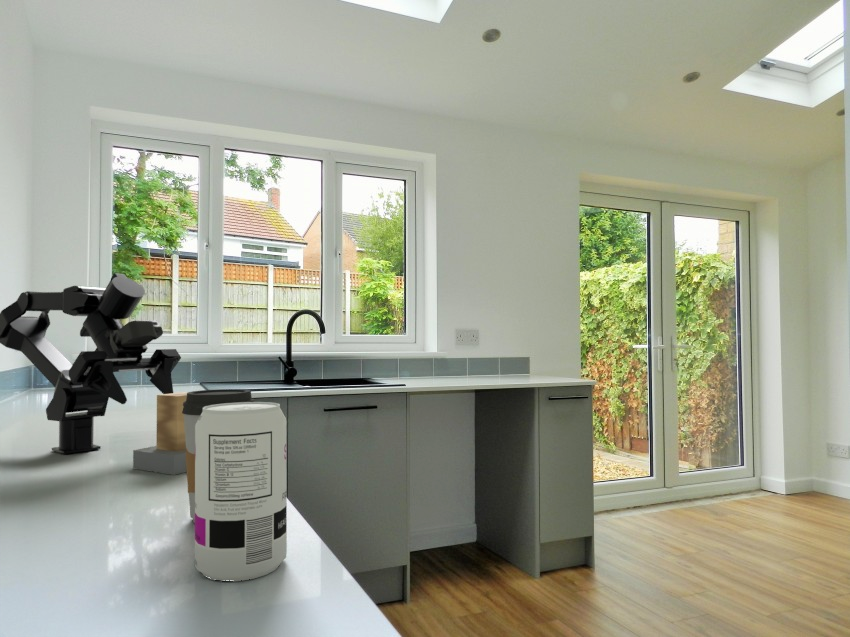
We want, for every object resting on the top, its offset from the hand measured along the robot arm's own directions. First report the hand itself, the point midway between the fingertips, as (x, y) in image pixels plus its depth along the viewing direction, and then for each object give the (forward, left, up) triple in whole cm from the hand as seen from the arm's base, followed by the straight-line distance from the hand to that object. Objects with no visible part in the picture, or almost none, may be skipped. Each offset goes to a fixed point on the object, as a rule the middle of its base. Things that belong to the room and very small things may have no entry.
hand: (149, 399), depth 102 cm
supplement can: (+54, -18, -11) cm, 58 cm away
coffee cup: (+39, -11, -11) cm, 42 cm away
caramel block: (+8, +1, -8) cm, 11 cm away
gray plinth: (+8, +1, -11) cm, 13 cm away
